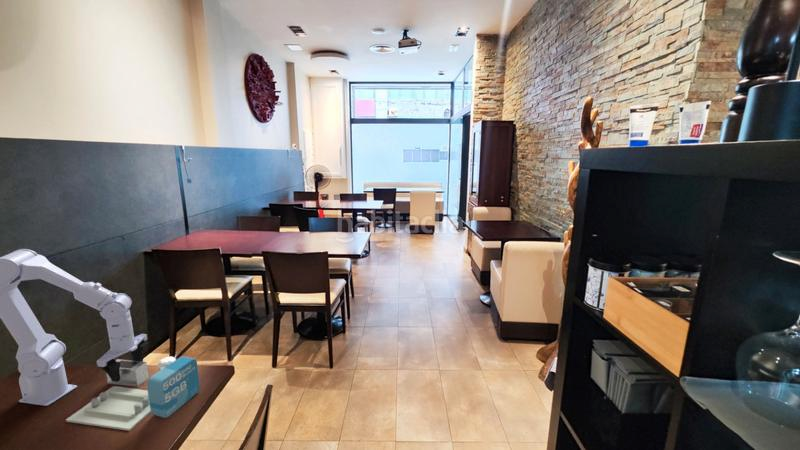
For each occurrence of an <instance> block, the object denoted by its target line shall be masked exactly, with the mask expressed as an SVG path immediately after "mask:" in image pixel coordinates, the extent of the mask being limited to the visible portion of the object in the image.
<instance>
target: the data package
mask: <svg viewBox="0 0 800 450" xmlns="http://www.w3.org/2000/svg"><path fill="white" fill-rule="evenodd" d="M198 369H199V368H198V360H197V359H196V358H194V357H193V358H192V357H189V356H183V355H182V356H180V357H178V358H176V360H175V361H174V362H172V363H171V364H169V365H168V366H166V367H165V368H163V369H162V370H159V371H157V372H156V373H154V374H153V375H151V376H150V377H149V378H148V379H147V381H146V386H147V387H146V388H147V389H146V390H147V391H148V396H149V402H150V409H151V413H150V414H151V415H153V416H157V417H161V418H164V419H167V418H169V417H170V416H171V415H173V414H174V413H175V412H176V411H178V410H179V409H180V408H181V407H182V406H184V405H185V404H186V403H187V402H188V401H190V400H191V399H192V398H193V397H194V396H195V395H197V394H198V393H199V390H200V387H201V386H200V379H199V370H198Z"/></svg>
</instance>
